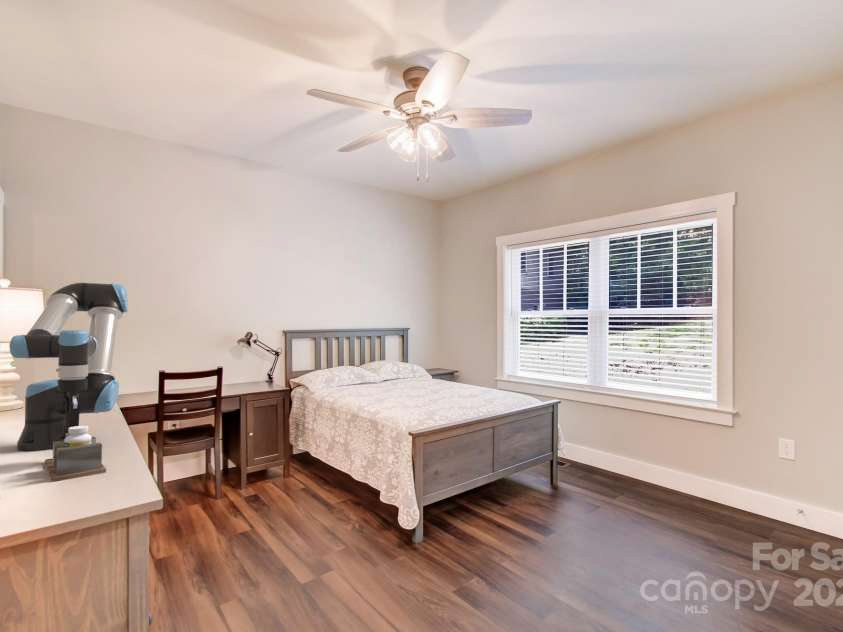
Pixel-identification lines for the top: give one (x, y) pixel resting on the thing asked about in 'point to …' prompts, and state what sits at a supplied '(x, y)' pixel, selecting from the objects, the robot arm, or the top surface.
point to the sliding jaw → (61, 445)
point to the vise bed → (76, 462)
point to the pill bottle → (77, 436)
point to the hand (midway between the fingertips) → (71, 451)
